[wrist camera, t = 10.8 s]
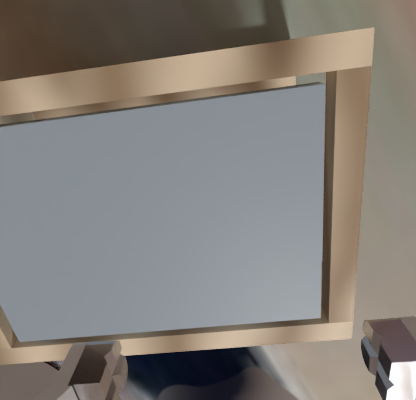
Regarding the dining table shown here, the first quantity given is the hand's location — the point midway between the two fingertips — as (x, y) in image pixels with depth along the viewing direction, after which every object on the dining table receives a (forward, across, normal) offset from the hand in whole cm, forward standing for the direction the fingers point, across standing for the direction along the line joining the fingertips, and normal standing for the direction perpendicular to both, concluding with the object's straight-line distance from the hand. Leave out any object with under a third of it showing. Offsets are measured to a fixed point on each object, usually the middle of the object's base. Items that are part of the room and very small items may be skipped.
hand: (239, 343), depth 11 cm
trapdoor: (+11, -5, 0) cm, 12 cm away
